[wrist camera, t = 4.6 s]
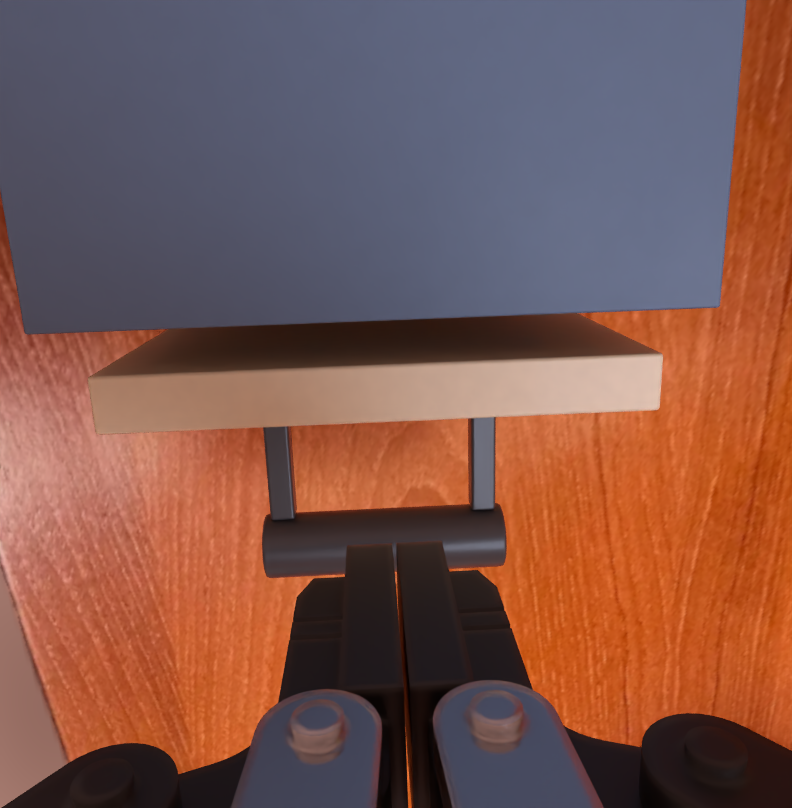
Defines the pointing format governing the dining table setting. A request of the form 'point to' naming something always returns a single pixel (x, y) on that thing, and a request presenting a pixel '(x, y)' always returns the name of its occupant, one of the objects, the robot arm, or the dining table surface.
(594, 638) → the dining table surface
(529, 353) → the drawer
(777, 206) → the dining table surface
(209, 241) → the cabinet
